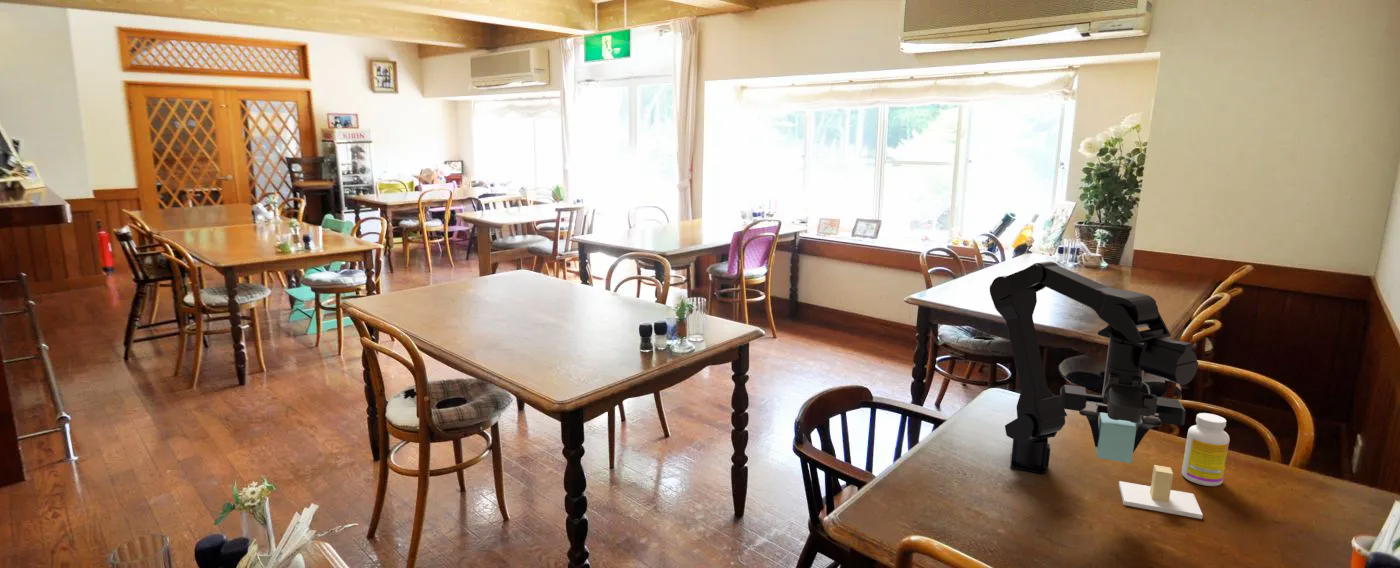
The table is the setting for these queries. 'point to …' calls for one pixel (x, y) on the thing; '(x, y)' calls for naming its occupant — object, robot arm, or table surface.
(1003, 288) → the robot arm
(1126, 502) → the post stand
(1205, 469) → the supplement bottle
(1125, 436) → the teal rectangular block
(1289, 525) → the table surface
